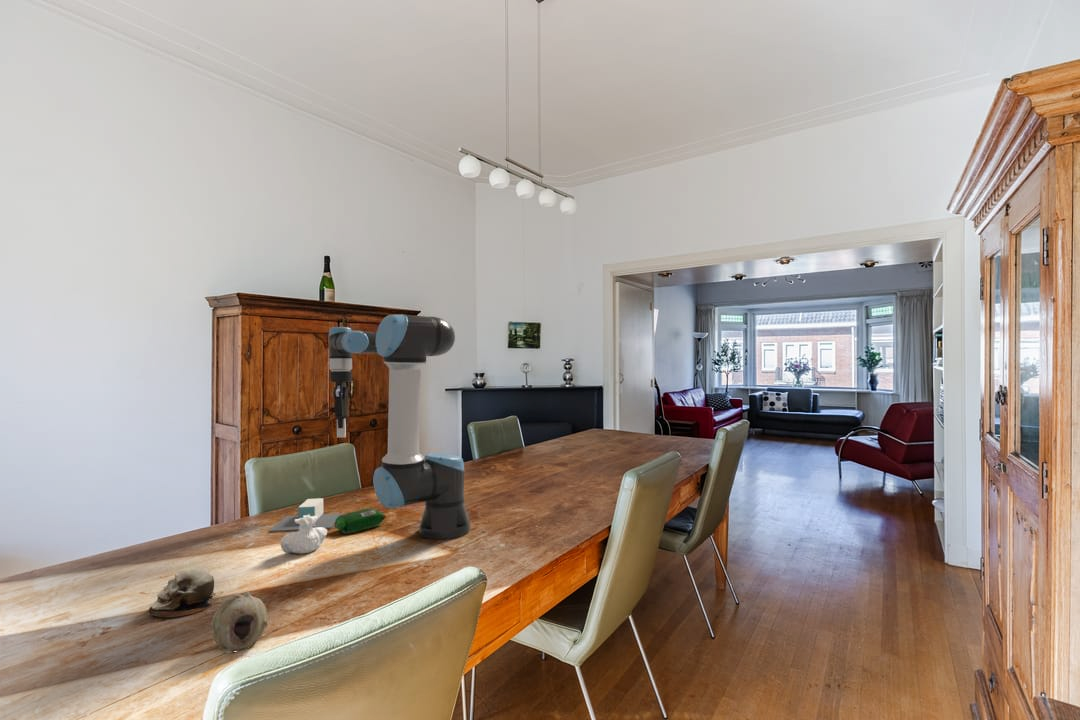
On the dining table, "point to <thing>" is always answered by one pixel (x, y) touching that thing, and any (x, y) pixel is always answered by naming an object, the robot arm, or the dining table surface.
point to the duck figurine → (304, 536)
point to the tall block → (311, 508)
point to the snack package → (359, 520)
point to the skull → (185, 594)
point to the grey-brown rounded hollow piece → (239, 622)
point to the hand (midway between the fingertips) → (341, 437)
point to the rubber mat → (290, 525)
